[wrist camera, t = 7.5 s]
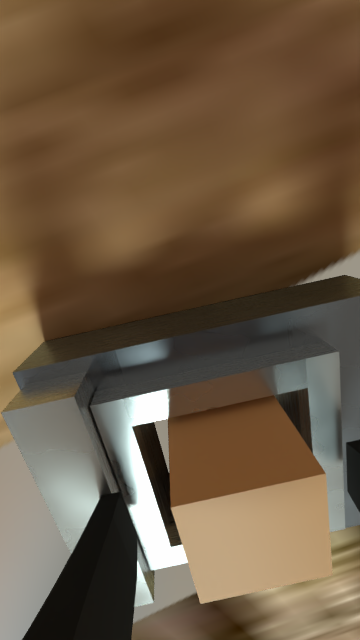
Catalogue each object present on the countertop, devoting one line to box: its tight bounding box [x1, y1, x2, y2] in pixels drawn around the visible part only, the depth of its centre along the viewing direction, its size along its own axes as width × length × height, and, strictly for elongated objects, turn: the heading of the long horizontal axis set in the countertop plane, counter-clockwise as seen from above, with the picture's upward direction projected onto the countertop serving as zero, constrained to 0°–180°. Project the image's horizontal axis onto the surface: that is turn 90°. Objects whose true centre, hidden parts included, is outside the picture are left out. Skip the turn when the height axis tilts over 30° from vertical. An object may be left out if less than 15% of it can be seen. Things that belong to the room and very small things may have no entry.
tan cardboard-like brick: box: [168, 395, 333, 604], centre depth 10 cm, size 4×4×6 cm
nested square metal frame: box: [1, 275, 360, 607], centre depth 11 cm, size 12×10×4 cm
